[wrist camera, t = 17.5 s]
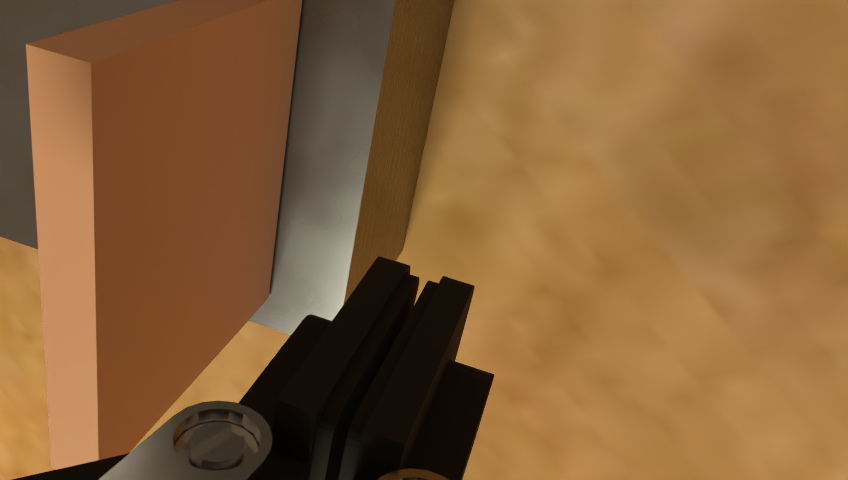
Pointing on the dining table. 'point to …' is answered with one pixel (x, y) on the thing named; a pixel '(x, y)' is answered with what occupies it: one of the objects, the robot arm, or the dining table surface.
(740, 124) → the dining table surface
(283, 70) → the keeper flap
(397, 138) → the block
